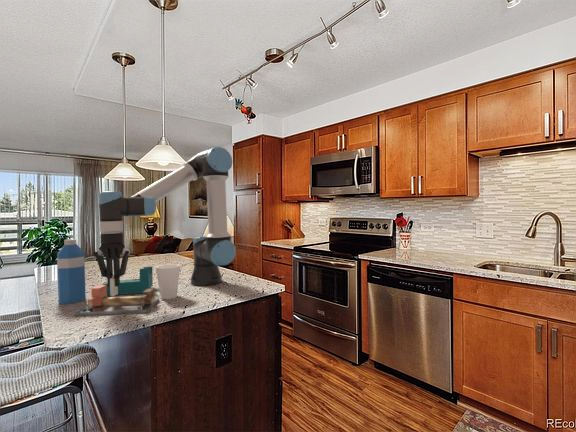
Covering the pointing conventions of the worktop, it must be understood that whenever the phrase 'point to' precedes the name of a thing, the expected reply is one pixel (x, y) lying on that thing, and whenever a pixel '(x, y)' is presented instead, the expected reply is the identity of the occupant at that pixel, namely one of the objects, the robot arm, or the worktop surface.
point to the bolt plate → (115, 309)
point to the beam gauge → (130, 299)
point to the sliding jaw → (97, 295)
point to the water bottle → (71, 273)
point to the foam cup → (168, 280)
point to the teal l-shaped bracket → (135, 283)
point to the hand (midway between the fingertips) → (114, 294)
